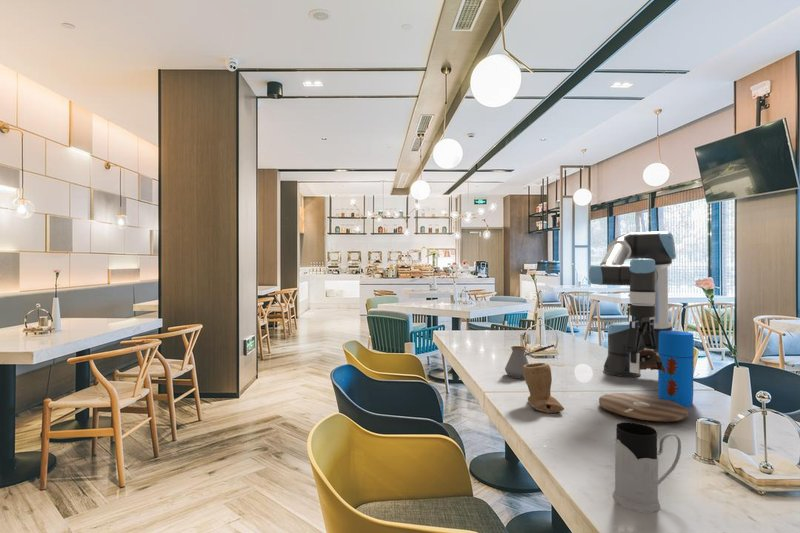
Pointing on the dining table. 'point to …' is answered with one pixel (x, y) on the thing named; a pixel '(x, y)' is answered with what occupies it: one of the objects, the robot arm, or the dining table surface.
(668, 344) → the thermos
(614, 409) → the disc
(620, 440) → the glass holder
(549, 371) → the brown boot vase
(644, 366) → the pottery mug
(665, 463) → the dining table surface
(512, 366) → the coffee pot
